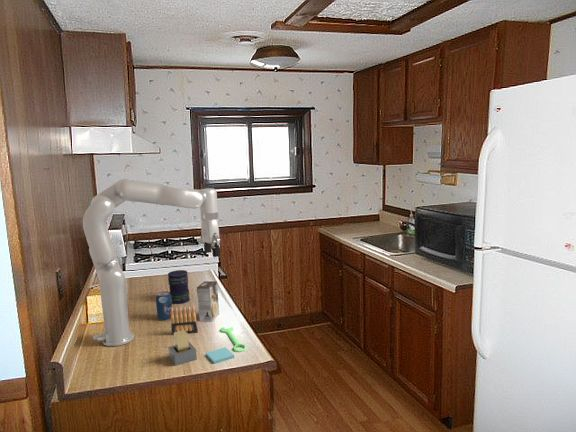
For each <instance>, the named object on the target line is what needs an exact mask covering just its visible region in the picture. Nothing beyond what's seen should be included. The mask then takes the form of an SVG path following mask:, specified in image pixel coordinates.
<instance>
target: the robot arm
mask: <svg viewBox="0 0 576 432" xmlns="http://www.w3.org/2000/svg"><path fill="white" fill-rule="evenodd" d="M217 193H218V191H217V190H216V189H215V188H209V187H207V188H202V189H195V188H194V189H191V188H189V189H184V188H178V187H173V186H168V185H165V184H160V183H154V182H148V181H140V180H134V179H129V178H122V179H119V180H118V181H116V182H114V183H113V184H112V185H110V186H109V187H107V188H106V189H104V190H102V191H101V192H99V193H98V194H96V195H95V196H94V197H93V198H92V199H91V201H90V205H88V208H87V209H86V210H85V212H84V214H83V218H82V228H83V229H82V230H83V232H84V235H85V239H86V242H87V246H88V247H89V248H88V252H89V255H90V258H91V260H92V263H93V266H94V267H93V268H94V270H95V272H96V275H97V277H98V283H99V290H100V291H99V292H100V299H101V301H100V302H101V307H102V317H103V325H104V330H103V332H101V333H100V334H95V335H92V338H93V339H92V340H93V341H96V340H97V342H100V341H101V343H103V344H102V345H104V346H105V345H106V347H118V346H122V345H125V344H128V343H130V342H132V341H133V340H134V339H135V333H134V332H132V331H131V329H130V320H129V319H130V318H129V311H128V301H127V291H126V290H127V289H126V277H125V273H124V271H123V269H122V268H121V265H120V263H119V259H118V255H117V253H116V247H115V245H114V243H113V241H112V239H111V236H110V232H109V229H108V225H107V223H108V222H107V221H108V219H109V217H111V215H112V214H114V211H115V209H116V208H117V207H119V206H121V205H122V204H123V203H125V202H126V201H127V202H135V203H143V204H144V203H145V204H152V205H159V206H171V207H178V208H187V209H193V210H194V209H199V208H200V221H201V224H200V225H201V227H200V228H201V229H200V231H201V234H200V235H201V241H203V249H204V251H203V252H204V253H205V254H208V253H209V254H210V253H212V257H213V258H219V257H221V249H220V248H221V247H220V246H221V238H220V228H219V223H218V222H219V221H218V220H219V208H218V194H217Z"/></svg>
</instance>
